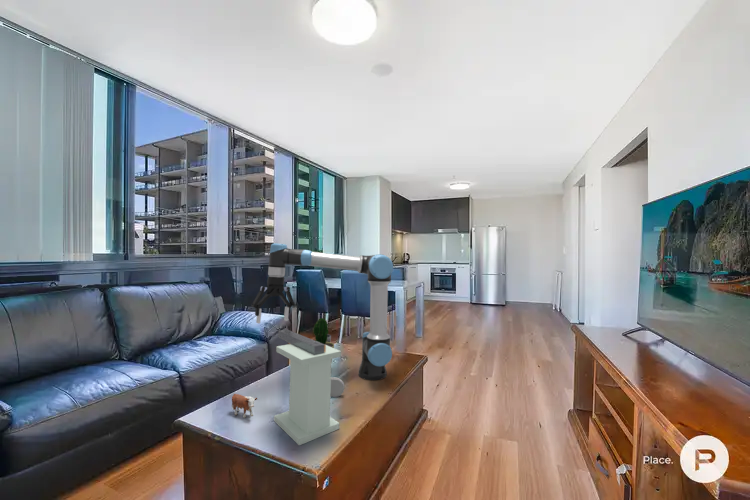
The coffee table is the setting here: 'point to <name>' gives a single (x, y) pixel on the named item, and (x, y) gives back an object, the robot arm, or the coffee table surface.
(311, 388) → the stand
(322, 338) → the potted cactus
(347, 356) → the coffee table surface
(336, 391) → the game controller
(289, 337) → the bar
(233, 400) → the bull figurine
